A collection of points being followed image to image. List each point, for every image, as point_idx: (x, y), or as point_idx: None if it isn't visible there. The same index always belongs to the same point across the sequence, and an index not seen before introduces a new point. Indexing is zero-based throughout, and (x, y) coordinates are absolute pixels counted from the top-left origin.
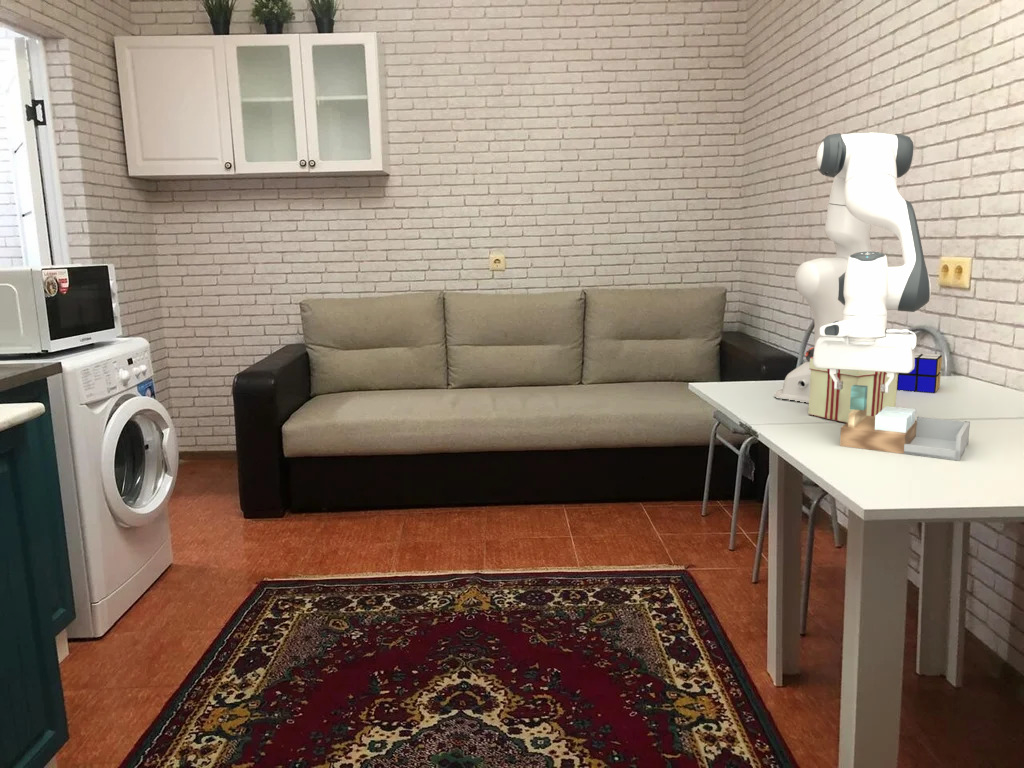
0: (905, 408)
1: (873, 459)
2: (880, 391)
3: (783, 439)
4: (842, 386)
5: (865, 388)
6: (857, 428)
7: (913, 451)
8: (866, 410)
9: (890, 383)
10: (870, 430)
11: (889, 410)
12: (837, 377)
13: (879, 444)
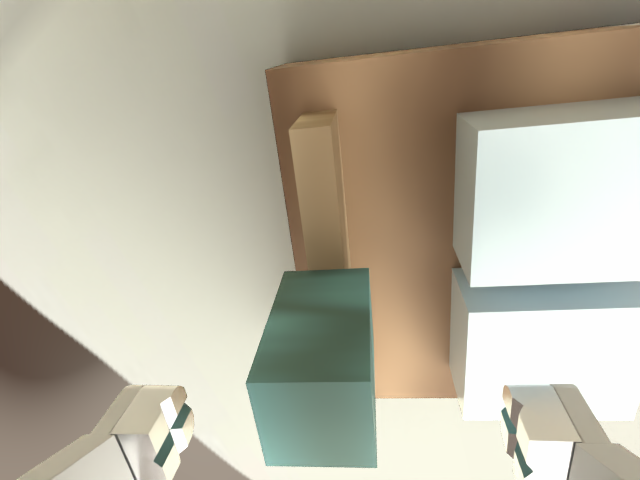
0: (636, 132)
1: (464, 434)
2: (502, 437)
3: (134, 354)
4: (177, 410)
5: (375, 441)
6: (378, 380)
7: None
8: (335, 126)
9: (624, 451)
10: (437, 389)
11: (521, 265)
12: (84, 471)
13: None
